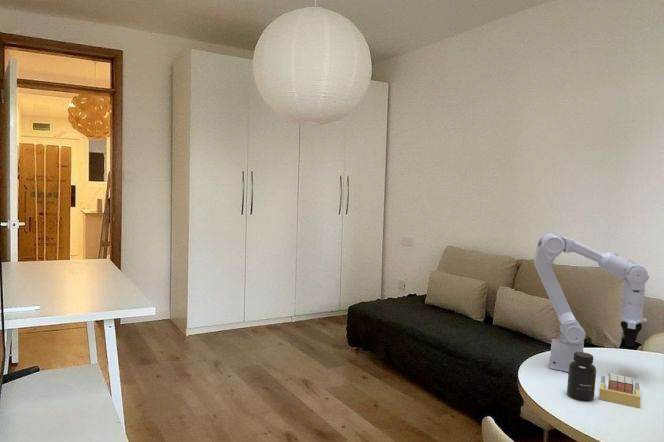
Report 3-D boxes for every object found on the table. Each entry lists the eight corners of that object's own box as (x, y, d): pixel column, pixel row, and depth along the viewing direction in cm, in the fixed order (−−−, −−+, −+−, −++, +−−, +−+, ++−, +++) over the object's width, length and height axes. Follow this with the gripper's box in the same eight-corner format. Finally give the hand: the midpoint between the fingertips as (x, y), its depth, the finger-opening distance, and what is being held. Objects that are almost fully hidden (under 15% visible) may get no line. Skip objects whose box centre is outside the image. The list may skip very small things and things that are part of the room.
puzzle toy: (630, 397, 138) (632, 377, 138) (632, 405, 133) (633, 384, 133) (607, 392, 141) (609, 373, 141) (607, 400, 136) (609, 380, 136)
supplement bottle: (583, 403, 133) (586, 360, 132) (561, 393, 139) (564, 352, 138) (599, 399, 136) (602, 356, 136) (577, 389, 142) (580, 348, 142)
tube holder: (599, 399, 136) (599, 388, 136) (601, 383, 147) (601, 373, 147) (639, 408, 131) (640, 397, 131) (638, 391, 142) (639, 381, 142)
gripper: (649, 309, 144) (645, 355, 145) (647, 300, 156) (644, 342, 158) (621, 306, 148) (617, 350, 149) (621, 297, 160) (618, 338, 161)
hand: (629, 346), depth 153 cm, fingers closed
